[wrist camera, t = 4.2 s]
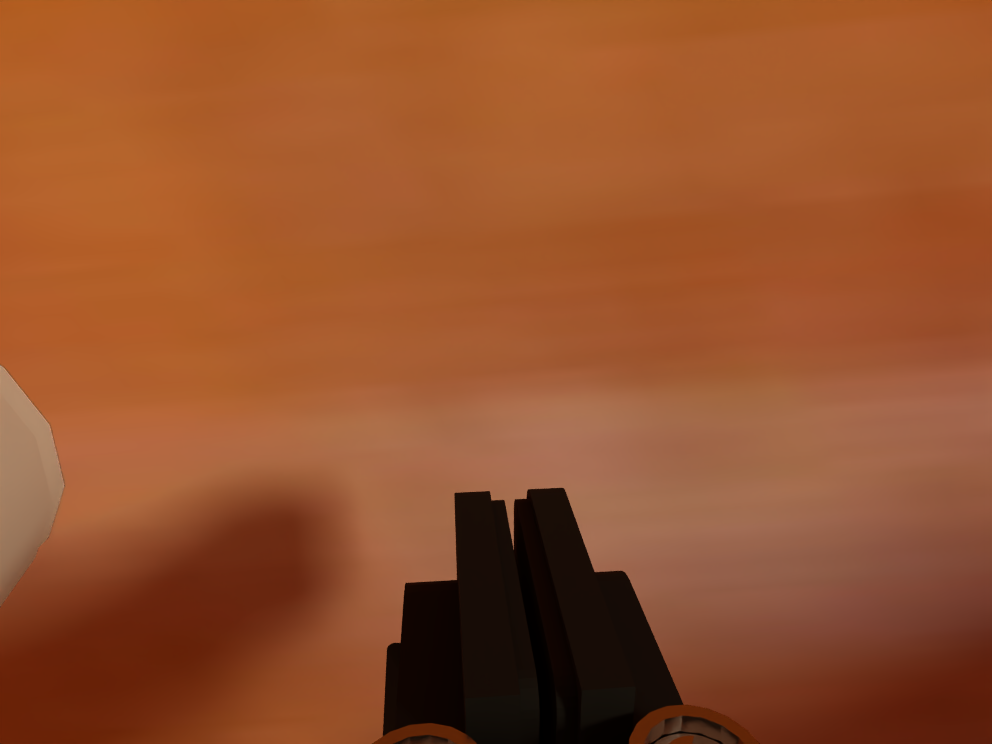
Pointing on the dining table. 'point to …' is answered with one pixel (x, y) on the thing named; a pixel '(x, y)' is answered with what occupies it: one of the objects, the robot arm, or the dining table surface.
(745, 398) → the dining table surface
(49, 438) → the foam cup
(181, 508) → the dining table surface
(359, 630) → the dining table surface
